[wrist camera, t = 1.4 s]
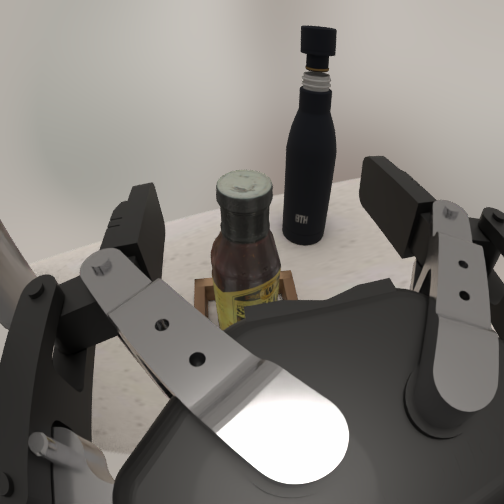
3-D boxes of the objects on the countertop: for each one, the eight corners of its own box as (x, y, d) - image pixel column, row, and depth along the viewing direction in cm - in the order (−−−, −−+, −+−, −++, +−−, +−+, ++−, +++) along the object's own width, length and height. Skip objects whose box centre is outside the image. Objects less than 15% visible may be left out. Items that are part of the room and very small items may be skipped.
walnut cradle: (199, 369, 32) (194, 358, 30) (198, 293, 39) (194, 279, 37) (305, 358, 32) (308, 347, 30) (289, 285, 40) (290, 270, 38)
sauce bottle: (244, 364, 32) (228, 227, 18) (210, 327, 36) (176, 185, 21) (286, 330, 35) (304, 186, 21) (252, 298, 38) (246, 154, 24)
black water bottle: (313, 214, 50) (330, 26, 28) (330, 240, 45) (360, 33, 24) (276, 221, 49) (280, 24, 27) (291, 249, 44) (304, 27, 23)
